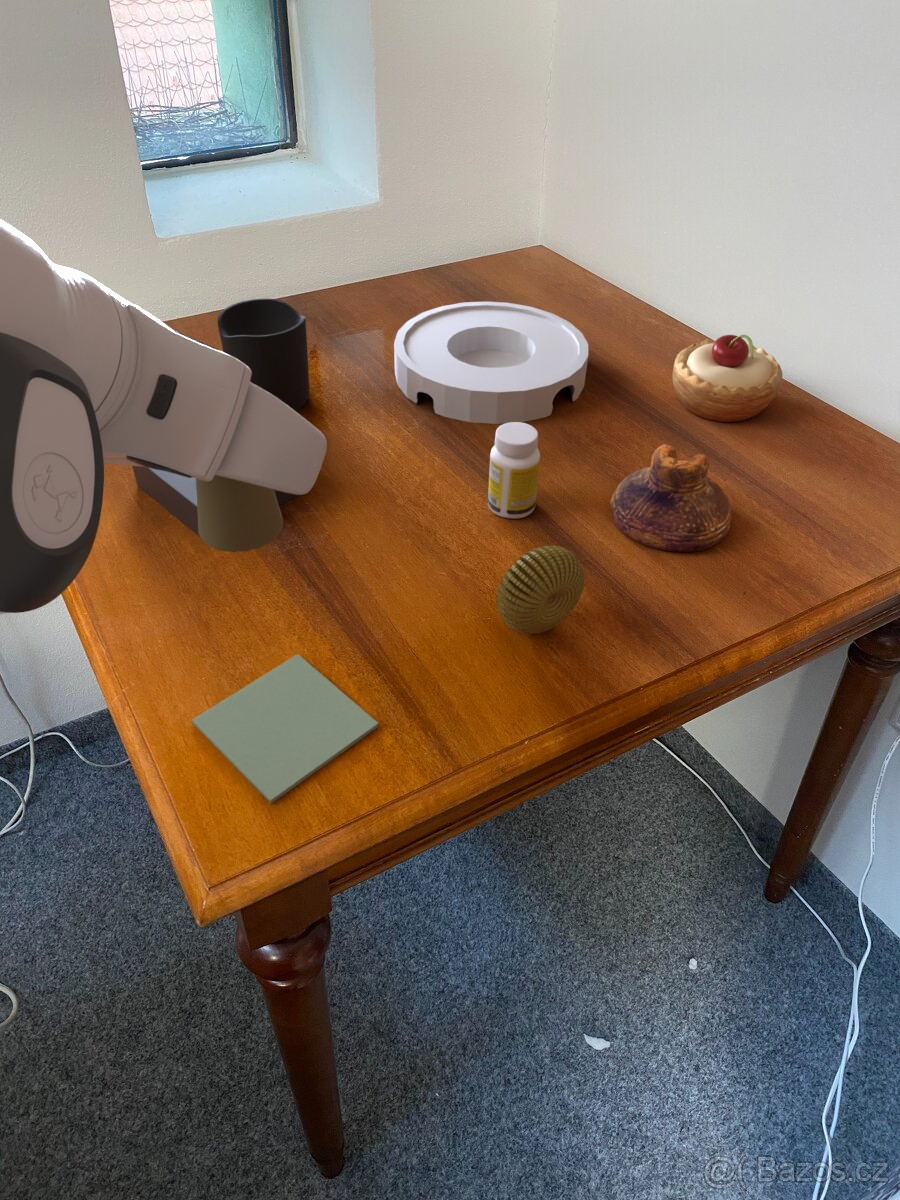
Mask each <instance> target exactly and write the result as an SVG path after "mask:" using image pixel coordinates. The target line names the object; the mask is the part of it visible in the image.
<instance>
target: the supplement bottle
mask: <svg viewBox="0 0 900 1200" xmlns="http://www.w3.org/2000/svg"><path fill="white" fill-rule="evenodd" d="M538 442H539V432H538V430H537V429H536V428H535V427H534V426H533V425H531V424H528V423H527V422H510V423H505V424H500V425H499V426H498V427H497V428H496V430H495V437H494V445H493V446H492V448H491V450H490V454H489V471H488V473H489V474H488V490H487V506H488V508H489V510H490V511H491V512H492V513H493V514H495V515H496V516H499V517H501V518H505V519H512V520H513V519H514V520H515V519H522V518H525V517H527V516H529V515H531V514H532V513H533V512H534V510H535V508H536V505H537V496H538V494H537V493H538V484H539V476H540V475H539V474H540V462H541V452H540V450H539V448H538V445H539V443H538Z"/></svg>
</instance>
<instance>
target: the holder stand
mask: <svg viewBox="0 0 900 1200" xmlns="http://www.w3.org/2000/svg"><path fill="white" fill-rule="evenodd" d="M131 467H132V470H133V475H134V478H135V483H136V486H137V487H138V488H139V489H141V490H142V491H143V492H144V493H145V494H147V495H148V496H149V497H150V498H152V499H153V500H154V501H155V502H156V503H158V504H159V505H160V506H161V507H163V508H164V509H165V510H166V511H167V512H169V513H170V514H171V516H173V517H175V519H177V520H178V521H180V522H181V523H182V524H183V525H184V526H186V527H187V528H188V529H189V530H190V531H191V532H193V533H194V534H195V535H197V536H198V537H199V538H200V539H201V537H200V535H199V531H198V511H197V491H196V478H193V477H191V478H187V477H184V476H181V475H178V474H174V473H170V472H166V471H162V470H157V469H152V468H148V467H144V466H131ZM274 491H275V495H276V498H277V501H278V505H279V506H280V505H282V504H284V503H286V502H288V501H290V500H293V499H294V498H296V497H298V496H299V495H295V494H290V493H285V492H281V491H277V490H274Z"/></svg>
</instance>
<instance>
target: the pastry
mask: <svg viewBox="0 0 900 1200" xmlns="http://www.w3.org/2000/svg"><path fill="white" fill-rule="evenodd" d="M745 339H746V340H745ZM671 377H672V378H671V379H672V385H673V389H674V393H675V395H676V396H677V398H678V399H677V400H679V402H680V404H681V405H682V406H683V407H684V408H685V410H688V411H689V412H691V413H692V414H694V415H696V416H698V417H701V418H704V419H706V420H711V421H715V422H720V423H721V422H725V423H726V422H727V423H734V422H741V421H747V420H749V419H752V418H753V417H755V416H756V417H757V415H758V414H760V413H761V412H763V410H765V409H766V408H767V407H768V406H769V405H770V403H771V402H772V401H773V400H774V398H775V397H776V395H777V393H778V391H779V388H780V386H781V383H782V380H783V370H782V367H781V365H780V364H779V363H778V362H777V360H776V358H775V357H774V356H773V355H772V354H770V353H769V354H768V353H767V351H766V350H765V349H764V348H761V347H759V348H757V347H756V346H754V345H753V340H752V338H751V337H749V336H748V335H746V334H741V335H734V334H725V335H722V336H719V337H718V338H717V339H716V340H715V341H711V339H709V338H706V339H704V340H703V341H702V342H700V343H699V342H694V343H693V344H691V345H689V346H687V347H685V348H684V349H683V348H682V350H680V352H679V353H678V354H677V355H676V356H675V360H674V363H673V369H672V376H671Z"/></svg>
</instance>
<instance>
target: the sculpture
mask: <svg viewBox="0 0 900 1200" xmlns="http://www.w3.org/2000/svg"><path fill="white" fill-rule="evenodd" d="M499 583H500V584H499V586H498V589H497V595H496V606H497V610H498V614H499V616H500V618H501V620H502V621H503V622H504V623H505V625H506V626H507V627H509V628H510V629H512V630H513V631H515V632H517V633H521V634H525V635H536V634H540V633H544V632H546V631H549V630H551V629H553V628H555V627H556V626H557V625H560V624H561V623H562V621H564V620H565V619H567V616H570V614H571V612H573V610H574V609H575V607H576V606H577V605H578V603H579V601H580V599H581V596H582V595H583V591H584V587H585V572H584V567H583V565H582V563H581V561H580V559H579V558H578V557H577V555H576V554H575V553H574V552H572V551H570V550H569V549H568V548H565V547H563V546H559V545H550V544H549V545H542V546H538V547H535V548H533V549H531V550H528V551H527V552H525V553H524V554H522V555H520V557H519V558H516V560H515V561H514V563H512V564H511V565H510V566H509V568H507V570H506V571H505V574H504V575H503V576H502V579H501V581H500V582H499Z"/></svg>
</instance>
